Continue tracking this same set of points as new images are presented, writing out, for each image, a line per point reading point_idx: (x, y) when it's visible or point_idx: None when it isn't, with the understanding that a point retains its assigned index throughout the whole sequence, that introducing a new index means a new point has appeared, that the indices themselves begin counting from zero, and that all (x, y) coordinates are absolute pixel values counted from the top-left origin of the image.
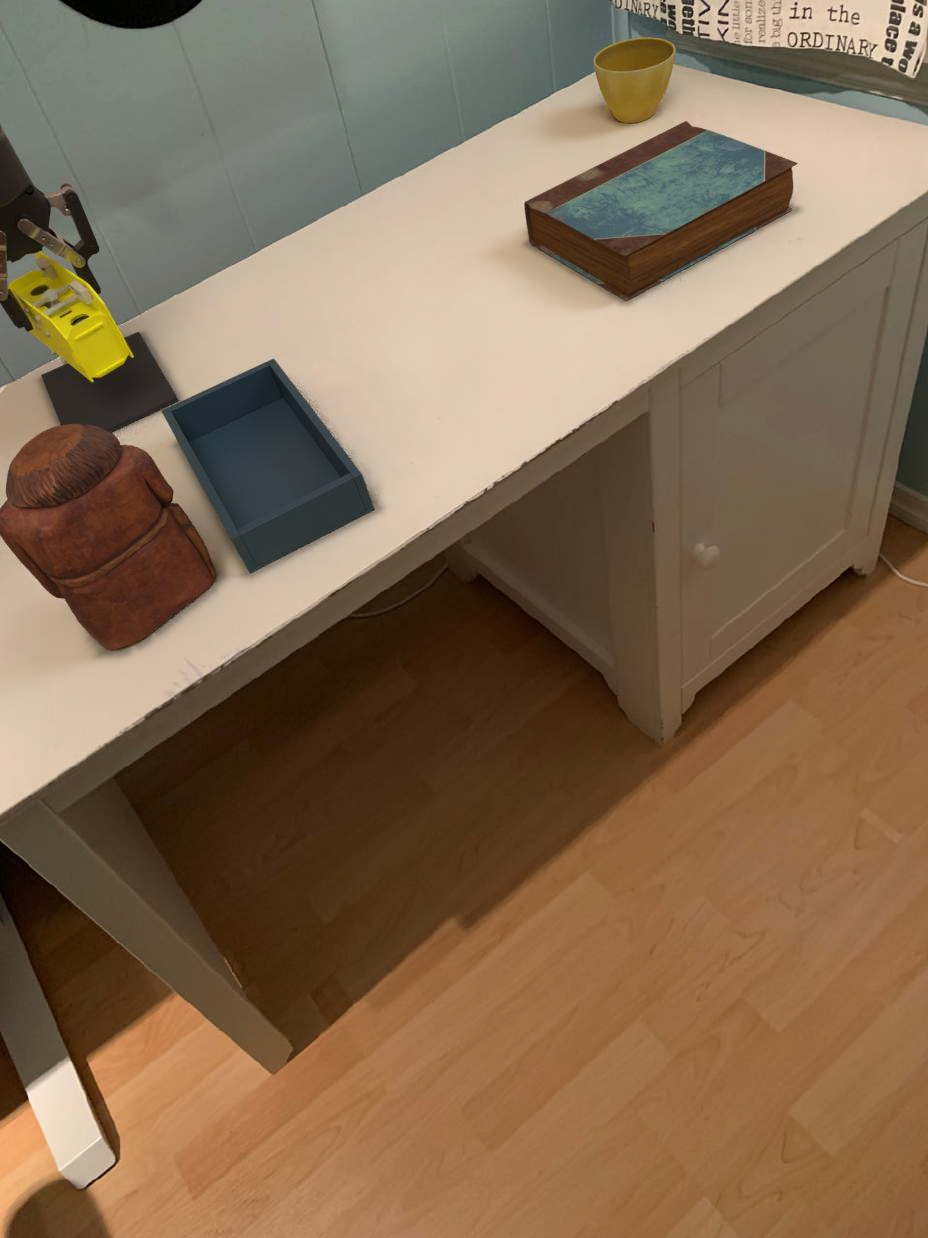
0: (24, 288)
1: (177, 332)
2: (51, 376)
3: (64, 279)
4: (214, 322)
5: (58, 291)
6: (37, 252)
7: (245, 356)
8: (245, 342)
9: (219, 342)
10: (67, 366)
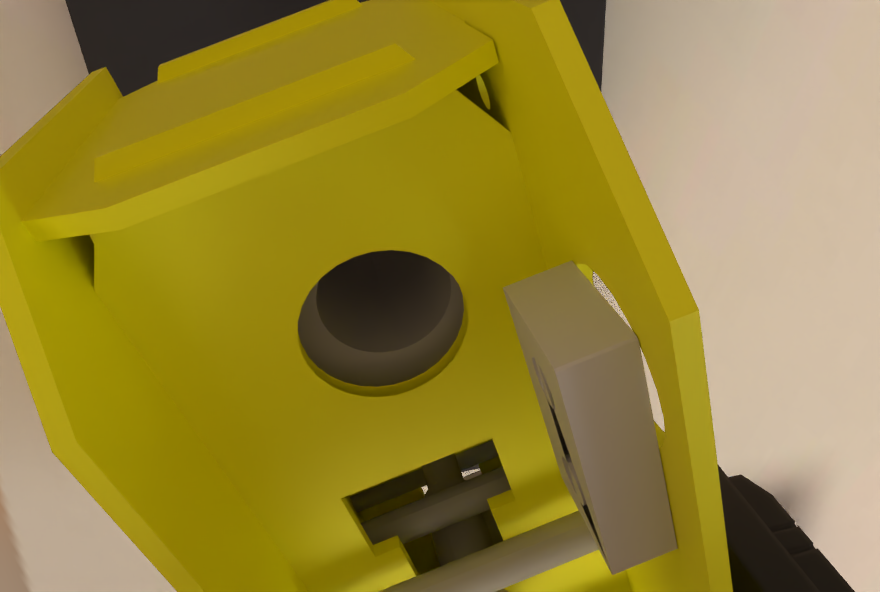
0: (233, 204)
1: (727, 33)
2: (128, 42)
3: (647, 563)
4: (854, 68)
5: (548, 565)
6: (663, 356)
7: (806, 335)
8: (846, 267)
9: (796, 215)
10: (220, 4)
